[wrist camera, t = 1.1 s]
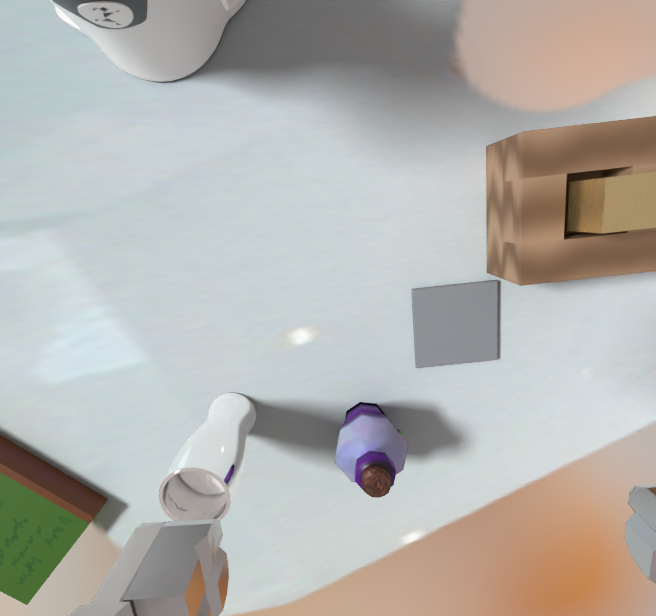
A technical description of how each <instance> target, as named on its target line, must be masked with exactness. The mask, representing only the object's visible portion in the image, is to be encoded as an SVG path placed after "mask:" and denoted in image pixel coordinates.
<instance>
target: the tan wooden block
mask: <svg viewBox="0 0 656 616" xmlns="http://www.w3.org/2000/svg"><path fill="white" fill-rule="evenodd" d="M648 228H656V172H651V173H642V174H634V175H625V176H616V177H607V178H598V179H590V180H582V181H573V182H566V202H565V223H564V230H565V231H577V232H590V233H611V232H621V231H630V230H639V229H648Z"/></svg>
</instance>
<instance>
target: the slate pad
mask: <svg viewBox="0 0 656 616" xmlns="http://www.w3.org/2000/svg"><path fill="white" fill-rule="evenodd" d="M497 305H498V281H497V280H491V281H481V282H472V283H463V284H453V285H444V286H435V287H426V288H416V289H412V307H413V325H414V343H415V362H416V368H423V367H433V366H443V365H452V364H462V363H472V362H481V361H491V360H497Z"/></svg>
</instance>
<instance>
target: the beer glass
mask: <svg viewBox="0 0 656 616" xmlns="http://www.w3.org/2000/svg"><path fill="white" fill-rule="evenodd" d="M255 421H256V410H255V407H254V405H253V403H252V402H251V401H250V400H249V399H248V398H247V397H245V396H243V395H241V394H237V393H226V394H223V395H221V396H219V397H217V398H216V399H215V400H214V401H213V402H212V404H211V406H210V409H209V413H208V417H207V419H206V421H205V422H204V423H203V424H202V425H201V426H200V427H199V428H198V429H197V430H196V431H195V432H194V433H193V434H192V435H191V436H190V437H189V438H188V439H187V441H186V442H185V443H184V444H183V446H182V447H181V449H180V450H179V452H178V453H177V455H176V457H175V459H174V460H173V462H172V464H171V466H170V468H169V470H168V473H167V475H166V477H165V479H164V481H163V482H162V484H161V487H160V490H159V500H160V504H161V506H162V508H163V510H164V512H165V513H166V514H167V515H168V516H169V517H170V518H171V519H172V520H174V521H188V520H207V519H216V520H218V521H220V520H221V519H222V518H223V517H224V516H225V515H226V513H227V512H228V510H229V507H230V504H231V501H232V499H233V497H234V495H235V492H236V490H237V488H238V485H239V482H240V480H241V476H242V473H243V469H244V464H245V456H246V439H247V434H248V433H249V431H250V430H251V429H252V427H253V426H254V423H255Z"/></svg>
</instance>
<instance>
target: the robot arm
mask: <svg viewBox="0 0 656 616" xmlns="http://www.w3.org/2000/svg"><path fill="white" fill-rule="evenodd" d="M50 1H51V2H52V3H53V4H54V5H55V9H56V12H57V14H58V15H59V17H60V18H61V19H62V20H63V21H64V22H66V23H67V24H68V25H69V26H70V27H72V28H74V29H75V30H77V31H79V32H80V33H82V34H84V35H86V36H88V37H89V38H91V39H92V40H93V42H94V43H95V44H96V45H97V46H98V47H99V48H100V49H101V50H102V52H103V53H104V54H105V55H106V56H107V57H108V58H109V59H110V60H111V61H112V62H113V63H114V64H116V65H117V66H118V67H120V68H121V69H122V70H124V71H126V72H127V73H129V74H131V75H133V76H136V77H138V78H141V79H145V80H149V81H158V82H164V81H173V80H177V79H180V78H183V77H185V76H188V75H190V74H191V73H193V72H195V71H196V70H197V69H199V68H200V67H201V66H202V65H203V64H204V63H205V62H206V61H207V60H208V59H209V58H210V56H211V55H212V54H213V52H214V50H215V49H216V47H217V45H218V43H219V41H220V38H221V36H222V33H223V31H224V28H225V26H226V24H227V22H228V20H229V19H230V18H231V17H232V16H233V15H234V14H235V13H236V12H237V11H238V10H239V9H240V8H241V7H242V6H243V4H244V3H245V1H246V0H50ZM628 504H629V505H630V507H631V508H632V509H633V511H634V512H635V513H634V514H633V515H632V516H631V517H630V519H629V520H628V521H627V522H626V527H625V540H626V543H627V546H628V549H629V552H630V554H631V556H632V557H633V559H634V561H635V563H636V564H637V566H638V567H639V568H640V569H641V571H642V572H643V573H644V574H645V575H646V577H647V578H648V579H649V580H651V581H653V582H654V583H656V484H653V485H642V486H634V488H633V489H632V490H631V491H630V493H629V501H628ZM222 536H223V534H222V529H221V525H220V521H218V520H216V519H207V520H188V521H169V522H162V523H143V524H141V525H140V526H139V527H137V528H136V529H135V531H134V532H133V534H132V536H131V537H130V539H129V540H128V542H127V544H126V545H125V547H124V549H123V550H122V552H121V553H120V555H119V557H118V558H117V560H116V562H115V563H114V565H113V567H112V568H111V570H110V571H109V573H108V575H107V576H106V578H105V580H104V581H103V583H102V585H101V586H100V588H99V589H98V591H97V593H96V594H95V596H94V598H93V599H92V601H91V602H90V604H88V605H80V606H79V607H78V608H77V609H75V611H73V612H72V613H70V614H69V615H68V616H219V615H220V613H221V612H222V611H223V608H224V604H225V600H226V596H227V588H228V578H229V572H228V560H227V554H226V553H225V552H224V551H223V550H222V549H221V548H220V547H219V545H220V542H221V539H222Z"/></svg>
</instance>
